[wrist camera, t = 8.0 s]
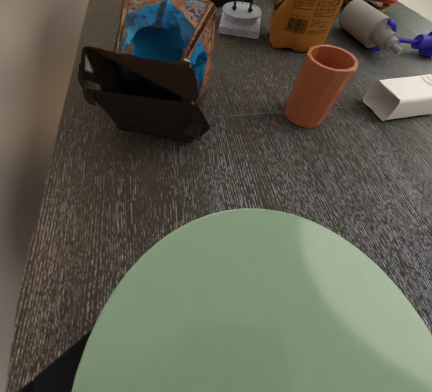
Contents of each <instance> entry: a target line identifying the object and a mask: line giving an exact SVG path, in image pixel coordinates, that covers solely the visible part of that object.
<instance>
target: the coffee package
mask: <svg viewBox="0 0 432 392" xmlns="http://www.w3.org/2000/svg"><path fill="white" fill-rule="evenodd" d="M342 3H343V0H274V4H273V8H272V13H271V17H270V22H269V24H270V38H269V42H270V44H271V45H272V46H273V48H291V49H293V50H295V51H298V52H308V50H309V48H310V47H312V46H315V45H318V44H320V45H323V44H324V42H325V40H326V38H327V35H328V33H329V31H330V29H331V27H332V25H333V23H334V21H335V19H336V16H337V14H338V12H339V10H340V7H341V5H342Z"/></svg>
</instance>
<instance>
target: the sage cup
mask: <svg viewBox="0 0 432 392" xmlns="http://www.w3.org/2000/svg"><path fill="white" fill-rule="evenodd" d="M72 392H432V334H431V333H430V331H429V329H428V328H427V326H426V325H425V323H424V322H423V320H422V319H421V317H420V316H419V314H418V313H417V311H416V310H415V308H414V307H413V305H412V304H411V303H410V302H409V300H408V299H407V298H406V297H405V295H404V294H403V293H402V292H401V290H400V289H399V288H398V287H397V285H396V284H395V283H394V282H393V281H392V280H391V279H390V278H389V277H388V276H387V275H386V274H385V273H384V271H383V270H382V269H381V268H380V267H379V266H378V265H376V264H375V263H374V262H373V261H372V260H371V259H370V258H369V257H367V256H366V255H365V254H364V253H363V252H362V251H360V250H359V249H358V248H356V247H355V246H354V245H352V244H351V243H350V242H348V241H347V240H346V239H344V238H342V237H341V236H339V235H337V234H336V233H334V232H332V231H331V230H329V229H327V228H325V227H323V226H321V225H319V224H317V223H315V222H313V221H310V220H307V219H305V218H302V217H299V216H296V215H293V214H289V213H285V212H281V211H275V210H268V209H249V208H243V209H234V210H226V211H222V212H217V213H213V214H209V215H207V216H204V217H201V218H198V219H196V220H193V221H191V222H189V223H187V224H185V225H183V226H181V227H179V228H177V229H176V230H174V231H173V232H171V233H170V234H168V235H167V236H165V237H164V238H162V239H161V240H160V241H158V242H157V243H156V244H155V245H154V246H153V247H151V248H150V249H149V250H148V251H147V252H146V253H144V254H143V256H142V257H141V258H140V259H139V260H138V261H137V262H136V263H135V264H134V265H133V266H132V267H131V268H130V270H129V271H128V272H127V273H126V275H125V276H124V277H123V279H122V280H121V281H120V283H119V284H118V285H117V287H116V288H115V289H114V291H113V293H112V294H111V296H110V298H109V299H108V301H107V303H106V304H105V306H104V308H103V309H102V311H101V313H100V315H99V317H98V319H97V321H96V323H95V325H94V328H93V330H92V332H91V334H90V336H89V338H88V341H87V343H86V346H85V349H84V352H83V355H82V358H81V360H80V363H79V366H78V369H77V372H76V375H75V379H74V383H73V388H72Z"/></svg>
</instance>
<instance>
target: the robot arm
mask: <svg viewBox="0 0 432 392" xmlns="http://www.w3.org/2000/svg"><path fill="white" fill-rule="evenodd" d="M92 330H93V329H92ZM92 330H90V331H89V332H88V333H87V334H86V335H84V336H83V337H82V338H81V339H80V340H79V341H77V342H76V343H75V344H74V345H73V346H71V347H70V348H69V349H68V350H67V351H66V352H64V353H63V354H62V355H61V356H60V357H58V358H57V359H56V360H55V361H54V362H53V363H51V364H50V365H49V366H48V367H47V368H45V369H44V370H43V371H42V372H41V373H40V374H38V375H37V376H36V377H35V378H34V380H33V381H30V382H29V383H28V384H26V385H25V386H24V387H23V388H22V389H20V390H19V391H18V392H72V388H73V383H74V379H75V375H76V372H77V369H78V366H79V363H80V360H81V358H82V355H83V352H84V349H85V346H86V343H87V341H88V338H89V336H90V334H91V332H92Z"/></svg>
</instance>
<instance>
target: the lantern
mask: <svg viewBox="0 0 432 392" xmlns="http://www.w3.org/2000/svg"><path fill="white" fill-rule="evenodd" d="M216 12H217V8H216V6H215V5H214V3H213V2H211V1H209V0H122V5H121V12H120V17H119V23H118V29H117V35H116V41H115V45H114V51H113V52H112V51H108V50H105V49H102V48H98V47H91V46H86V47H84V48H83V50H82V55H81V63H80V64H79V72H78V79H79V83H80V85H81V87H82V88H83V93H84V97H85V100H86V101H87V102H88V103H89V104H92V105H95V106H96V104H95V102H97V103H98V104H99V105H100V106H101V107H102V108H103V109H104V110H105V111H106V112H107V113H108V114H109V115H110V117H111V118H112V120H113V121H114V122H115V123H116V126H117V128H118V129H121V130H125V131H133V132H141V133H147V134H153V135H158V136H163V137H167V138H172V139H177V140H183V141H188V142H192V141H193V139H196V140H197V141H200V139H201V137H202V135H203V134H204V133H205V132H206V131H208V130H209V129H210V126H209V124H208V123H207V121H206V118H205V117H204V115H203V114H202V112H201V111H200V109H199V108H198V106H197V105H196V103H197V102H198V100H199V98H200V97H201V96H202V94H203V93H204V92H205V91H206V89H207V88H208V87H209V85H210V73H211V61H212V52H213V42H214V31H215V19H216ZM131 41H132V42H133V46H134V56H133V55H129V54H124V53H123V50H124V49H123V48H126V47H125V46H128V45H129V44H130V42H131ZM94 101H95V102H94Z"/></svg>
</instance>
